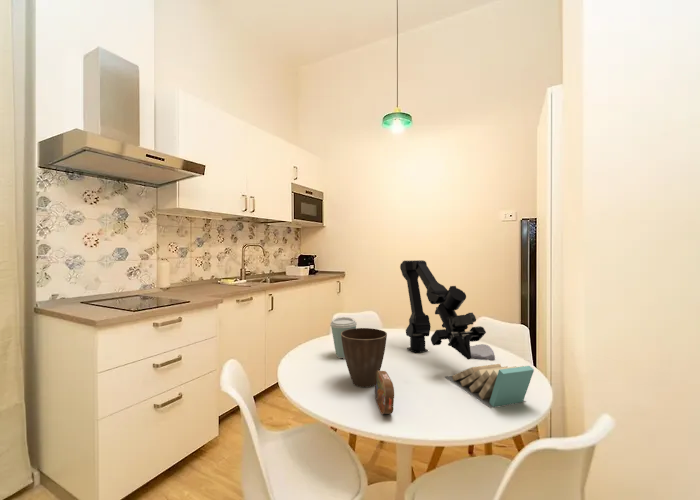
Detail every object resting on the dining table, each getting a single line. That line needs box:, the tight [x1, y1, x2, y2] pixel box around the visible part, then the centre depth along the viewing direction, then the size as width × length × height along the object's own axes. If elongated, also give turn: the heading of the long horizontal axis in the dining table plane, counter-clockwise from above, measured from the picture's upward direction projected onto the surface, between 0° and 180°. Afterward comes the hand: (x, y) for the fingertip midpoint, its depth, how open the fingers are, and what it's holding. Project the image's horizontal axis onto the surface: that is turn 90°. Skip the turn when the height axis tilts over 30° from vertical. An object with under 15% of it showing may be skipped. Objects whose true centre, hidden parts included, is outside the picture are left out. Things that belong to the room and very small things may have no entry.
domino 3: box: [469, 366, 517, 393], centre depth 91 cm, size 2×10×11 cm
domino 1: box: [451, 363, 502, 381], centre depth 98 cm, size 2×10×12 cm
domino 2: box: [460, 365, 508, 387], centre depth 95 cm, size 2×10×11 cm
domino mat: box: [444, 375, 527, 409], centre depth 96 cm, size 22×12×1 cm, turn 16°
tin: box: [374, 370, 395, 415], centre depth 86 cm, size 15×3×8 cm, turn 5°
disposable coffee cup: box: [330, 316, 357, 360], centre depth 127 cm, size 11×11×15 cm
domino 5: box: [489, 365, 535, 408], centre depth 85 cm, size 2×10×11 cm, turn 106°
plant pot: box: [341, 327, 388, 388], centre depth 101 cm, size 15×15×16 cm
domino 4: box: [479, 365, 524, 400], centre depth 88 cm, size 2×10×11 cm
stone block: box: [470, 343, 496, 361], centre depth 127 cm, size 12×5×10 cm
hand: (469, 358), depth 101 cm, fingers closed
